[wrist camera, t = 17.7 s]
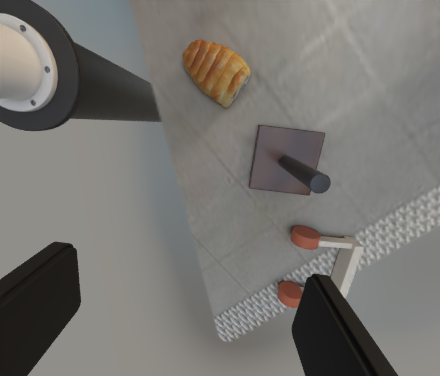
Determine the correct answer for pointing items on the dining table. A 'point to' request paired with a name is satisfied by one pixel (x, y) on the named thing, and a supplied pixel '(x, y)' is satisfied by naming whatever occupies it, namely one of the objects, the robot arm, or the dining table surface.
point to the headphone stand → (288, 161)
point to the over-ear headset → (342, 268)
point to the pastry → (216, 70)
